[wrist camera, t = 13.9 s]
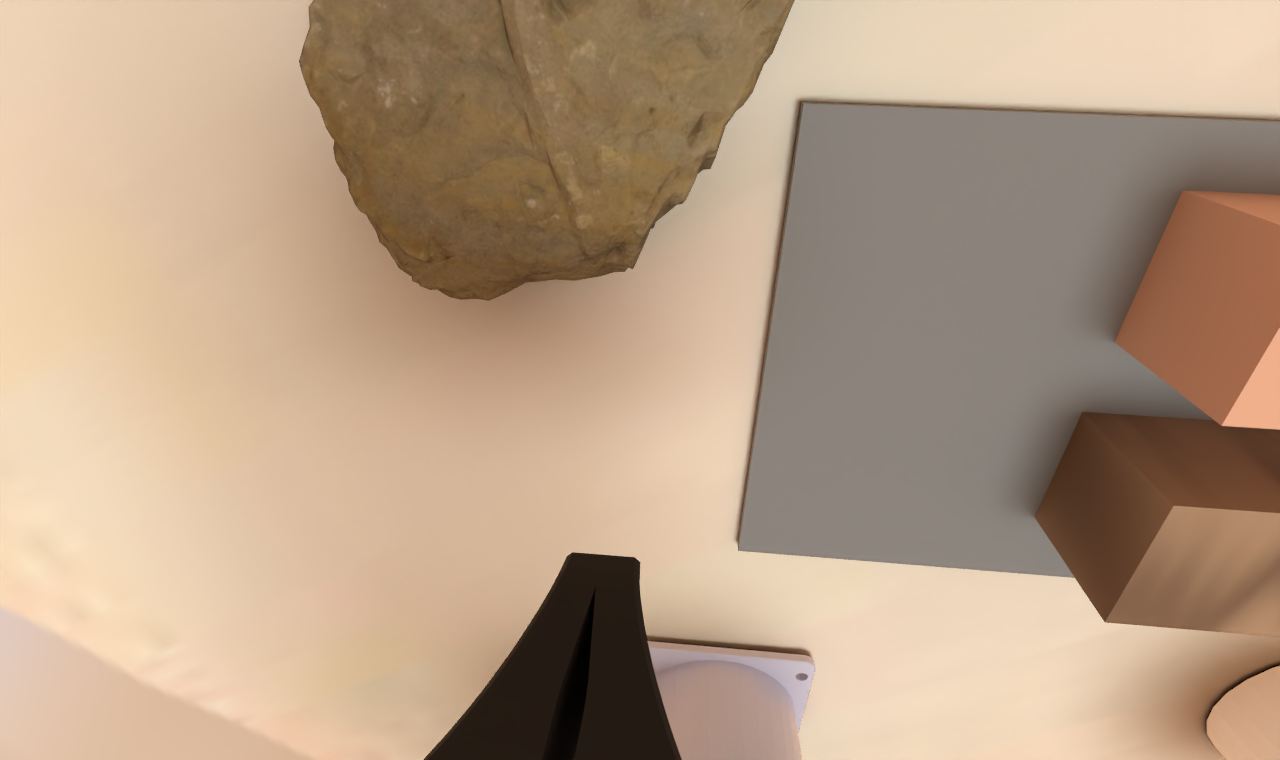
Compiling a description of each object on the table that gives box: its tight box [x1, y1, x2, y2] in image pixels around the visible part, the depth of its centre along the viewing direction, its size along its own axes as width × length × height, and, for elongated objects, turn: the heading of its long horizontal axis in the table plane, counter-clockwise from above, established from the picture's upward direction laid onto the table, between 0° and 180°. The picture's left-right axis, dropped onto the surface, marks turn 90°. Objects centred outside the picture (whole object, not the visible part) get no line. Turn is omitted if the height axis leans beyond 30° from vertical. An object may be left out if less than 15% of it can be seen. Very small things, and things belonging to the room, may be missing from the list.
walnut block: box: [1035, 412, 1280, 637], centre depth 19 cm, size 4×4×8 cm
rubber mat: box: [738, 102, 1280, 578], centre depth 20 cm, size 16×20×1 cm
